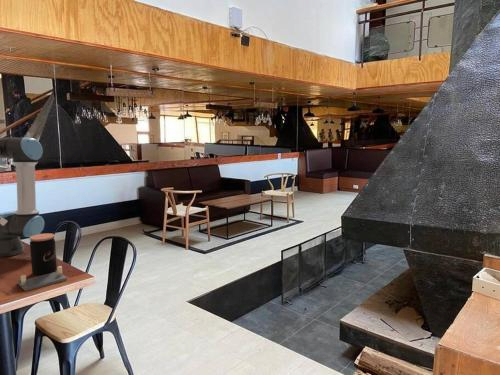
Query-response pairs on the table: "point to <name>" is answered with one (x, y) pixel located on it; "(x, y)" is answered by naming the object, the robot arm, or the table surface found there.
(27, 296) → the table surface
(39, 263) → the coffee jar
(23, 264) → the table surface
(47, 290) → the table surface
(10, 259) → the table surface
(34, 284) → the peg board
